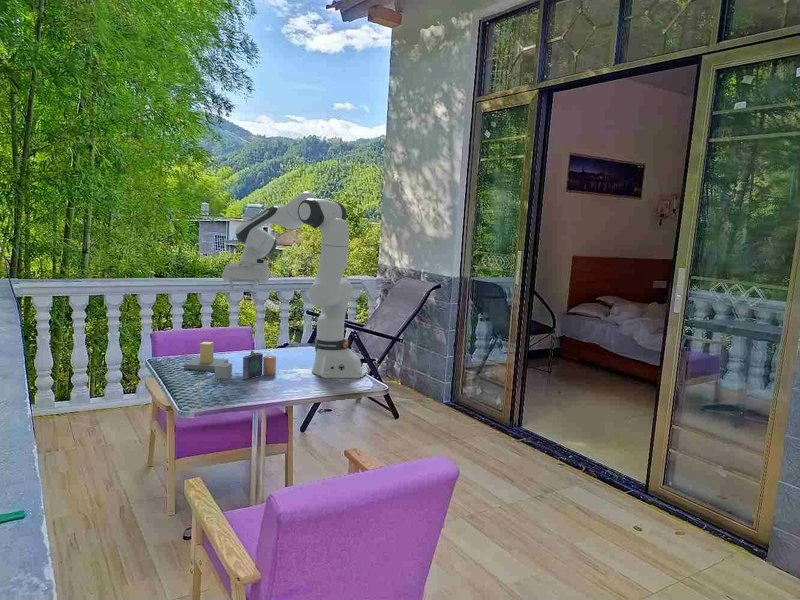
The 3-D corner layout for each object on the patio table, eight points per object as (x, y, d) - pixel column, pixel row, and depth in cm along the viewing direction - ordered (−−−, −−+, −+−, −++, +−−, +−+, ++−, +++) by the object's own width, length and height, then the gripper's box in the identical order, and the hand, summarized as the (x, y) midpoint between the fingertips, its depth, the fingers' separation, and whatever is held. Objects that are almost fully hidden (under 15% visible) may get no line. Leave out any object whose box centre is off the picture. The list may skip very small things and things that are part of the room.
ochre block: (213, 360, 232) (213, 342, 231) (209, 363, 228) (209, 344, 227) (204, 360, 232) (204, 341, 231) (200, 362, 228) (200, 343, 227)
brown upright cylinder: (277, 372, 226) (277, 355, 225) (273, 375, 221) (273, 358, 220) (265, 371, 227) (265, 355, 226) (261, 375, 222) (261, 358, 221)
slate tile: (228, 363, 236) (228, 359, 236) (217, 371, 224) (217, 366, 224) (196, 361, 237) (196, 357, 236) (183, 369, 225) (183, 364, 224)
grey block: (231, 375, 219) (231, 363, 219) (227, 379, 214) (227, 366, 214) (219, 374, 219) (219, 362, 219) (214, 378, 215) (214, 366, 214)
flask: (245, 380, 214) (245, 353, 212) (240, 378, 215) (240, 352, 214) (263, 375, 221) (264, 349, 220) (258, 374, 223) (259, 348, 222)
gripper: (224, 258, 248) (216, 282, 240) (269, 261, 247) (262, 285, 239) (228, 267, 253) (220, 291, 245) (272, 270, 252) (265, 294, 244)
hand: (241, 288), depth 242 cm, fingers open, 8 cm apart
